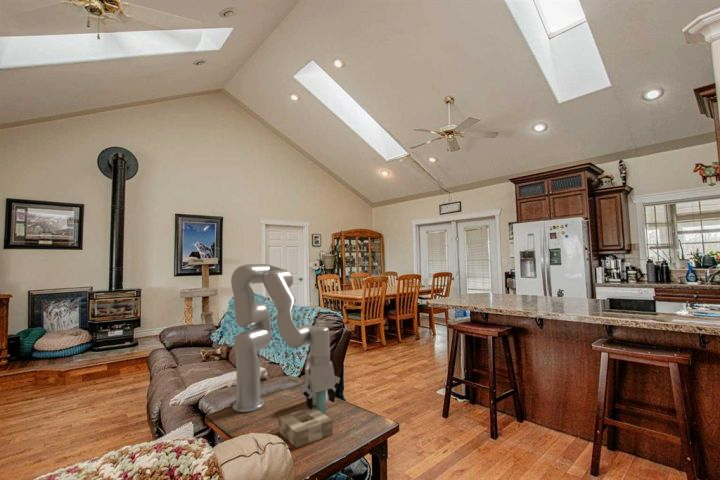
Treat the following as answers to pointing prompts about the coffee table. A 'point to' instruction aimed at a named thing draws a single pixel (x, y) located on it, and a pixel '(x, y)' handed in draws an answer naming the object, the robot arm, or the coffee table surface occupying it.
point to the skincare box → (314, 393)
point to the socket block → (305, 426)
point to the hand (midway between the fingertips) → (321, 404)
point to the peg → (321, 401)
